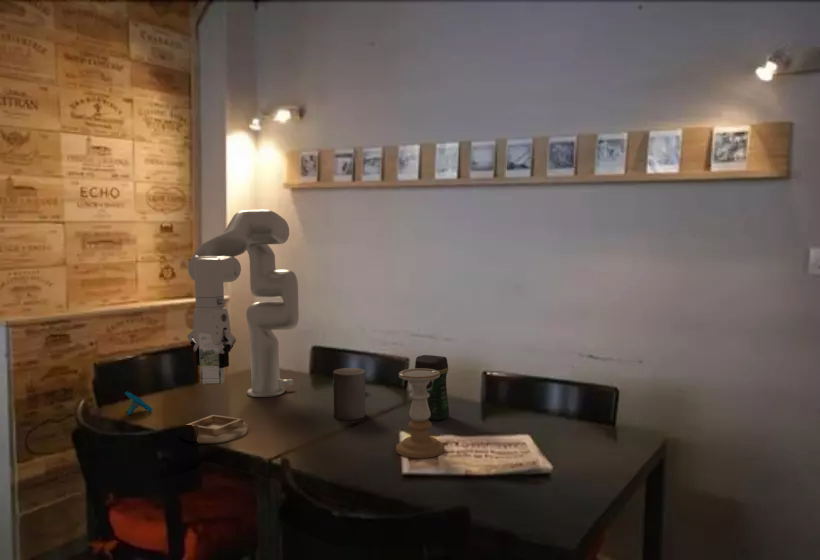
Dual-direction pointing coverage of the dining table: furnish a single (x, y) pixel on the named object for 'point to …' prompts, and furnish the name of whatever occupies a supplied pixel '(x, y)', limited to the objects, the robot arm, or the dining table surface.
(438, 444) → the candle holder
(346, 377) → the pillar candle
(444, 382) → the coffee jar
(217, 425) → the flange base
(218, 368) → the syrup box
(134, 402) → the blue t-shaped piece
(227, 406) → the dining table surface
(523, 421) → the dining table surface
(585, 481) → the dining table surface
